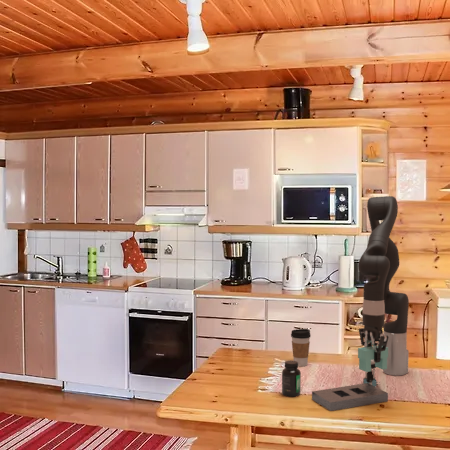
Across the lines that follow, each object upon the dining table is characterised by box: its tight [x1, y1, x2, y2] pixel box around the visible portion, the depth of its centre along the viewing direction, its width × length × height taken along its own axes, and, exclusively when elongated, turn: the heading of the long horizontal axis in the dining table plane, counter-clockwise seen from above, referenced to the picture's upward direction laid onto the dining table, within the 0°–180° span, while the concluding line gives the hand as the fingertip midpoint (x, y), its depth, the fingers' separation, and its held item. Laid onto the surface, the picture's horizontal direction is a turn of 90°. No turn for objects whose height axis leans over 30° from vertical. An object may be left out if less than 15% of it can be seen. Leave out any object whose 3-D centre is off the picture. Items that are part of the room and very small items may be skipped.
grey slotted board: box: [311, 383, 389, 412], centre depth 209 cm, size 24×12×3 cm, turn 113°
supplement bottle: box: [281, 360, 302, 398], centre depth 215 cm, size 7×7×12 cm
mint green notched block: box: [357, 345, 388, 372], centre depth 206 cm, size 10×4×8 cm, turn 114°
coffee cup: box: [290, 328, 311, 367], centre depth 252 cm, size 8×8×15 cm
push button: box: [362, 360, 381, 387], centre depth 224 cm, size 7×5×10 cm
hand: (372, 360), depth 206 cm, fingers closed on mint green notched block, 4 cm apart
